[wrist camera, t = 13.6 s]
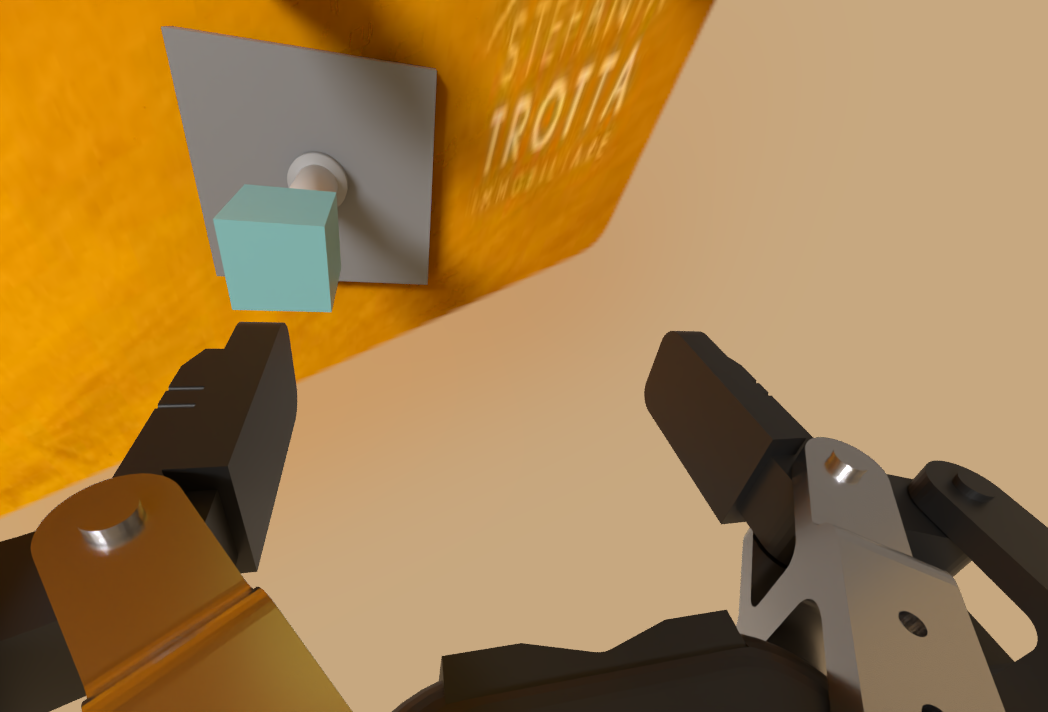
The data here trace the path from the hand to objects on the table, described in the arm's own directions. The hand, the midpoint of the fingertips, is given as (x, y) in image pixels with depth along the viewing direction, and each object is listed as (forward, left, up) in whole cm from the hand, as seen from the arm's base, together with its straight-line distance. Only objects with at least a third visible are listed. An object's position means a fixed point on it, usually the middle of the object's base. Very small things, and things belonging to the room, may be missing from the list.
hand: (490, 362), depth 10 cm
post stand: (+6, -8, -36) cm, 37 cm away
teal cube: (+6, -8, -23) cm, 25 cm away
